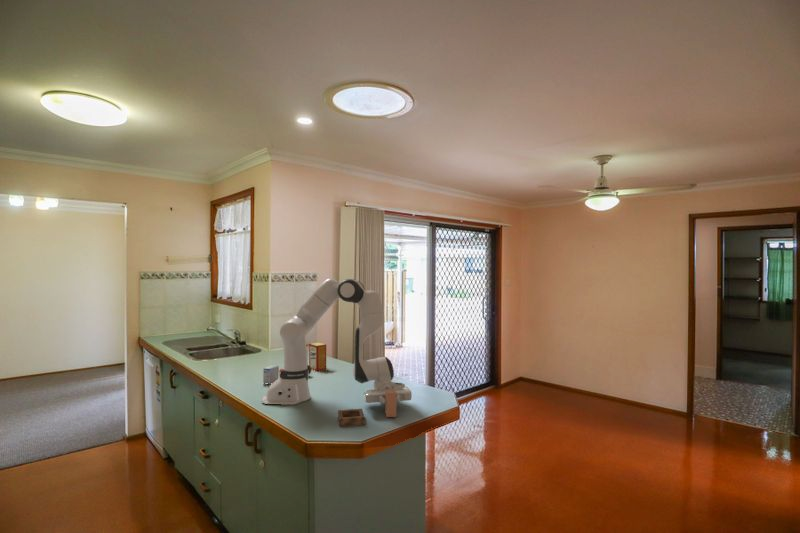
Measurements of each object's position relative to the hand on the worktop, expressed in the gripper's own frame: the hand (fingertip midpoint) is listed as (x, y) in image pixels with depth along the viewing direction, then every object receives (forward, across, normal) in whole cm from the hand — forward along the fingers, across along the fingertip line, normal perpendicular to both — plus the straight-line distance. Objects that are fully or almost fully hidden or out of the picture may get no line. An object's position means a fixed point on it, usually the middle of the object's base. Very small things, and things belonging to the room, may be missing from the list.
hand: (391, 401), depth 162 cm
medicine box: (-64, -56, +8) cm, 85 cm away
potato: (-74, -41, +8) cm, 85 cm away
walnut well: (0, -17, +7) cm, 18 cm away
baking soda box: (-89, -31, +7) cm, 94 cm away
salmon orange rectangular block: (-1, 0, +6) cm, 6 cm away
